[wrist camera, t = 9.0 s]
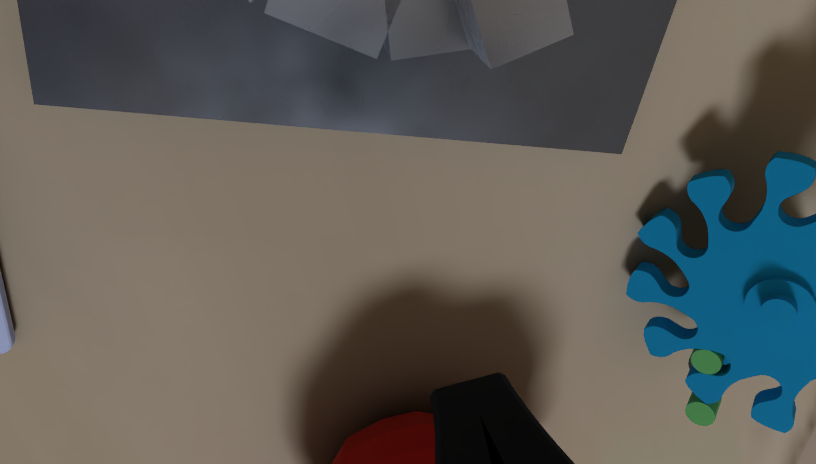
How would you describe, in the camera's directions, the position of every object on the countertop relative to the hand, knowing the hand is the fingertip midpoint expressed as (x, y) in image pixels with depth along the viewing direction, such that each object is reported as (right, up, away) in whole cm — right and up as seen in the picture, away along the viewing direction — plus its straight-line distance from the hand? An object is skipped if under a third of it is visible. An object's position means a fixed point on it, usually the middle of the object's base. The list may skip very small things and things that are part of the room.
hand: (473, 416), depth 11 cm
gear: (+11, +3, +13) cm, 17 cm away
